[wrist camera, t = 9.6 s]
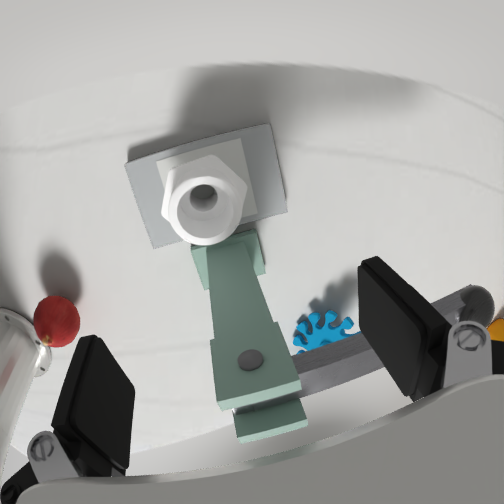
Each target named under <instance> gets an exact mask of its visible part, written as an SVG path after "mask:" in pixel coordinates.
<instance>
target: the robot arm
mask: <svg viewBox="0 0 504 504" xmlns="http://www.w3.org/2000/svg"><path fill="white" fill-rule="evenodd" d="M358 298H359V327H360V330H361V332H362V334H363V335H364V337H365V338H366V340H367V341H368V343H369V344H370V345H371V347H372V348H373V350H374V351H375V353H376V354H377V356H378V357H379V359H380V360H381V362H382V363H383V365H384V366H385V368H386V369H387V370H388V372H389V374H390V375H391V377H392V378H393V380H394V381H395V382H396V384H397V386H398V387H399V389H400V390H401V392H402V393H403V395H404V396H406V397H407V396H410V398H411V399H412V401H413V402H414V403H412V404H409V405H407V406H405V407H403V408H401V409H399V410H397V411H394V412H392V413H390V414H388V415H385V416H383V417H381V418H378V419H376V420H373V421H371V422H369V423H366V424H364V425H362V426H359V427H356V428H354V429H351V430H349V431H346V432H343V433H341V434H338V435H335V436H332V437H330V438H327V439H324V440H321V441H318V442H315V443H311V444H308V445H305V446H302V447H298V448H295V449H292V450H288V451H285V452H281V453H277V454H273V455H270V456H266V457H261V458H257V459H253V460H248V461H244V462H239V463H234V464H230V465H224V466H218V467H213V468H206V469H200V470H193V471H185V472H177V473H168V474H157V475H143V476H125V472H126V469H127V468H128V467H129V458H130V443H131V431H132V419H133V409H134V400H135V389H134V386H133V384H132V383H131V382H130V380H129V379H128V377H127V376H126V374H125V373H124V372H123V370H122V369H121V367H120V366H119V364H118V363H117V361H116V360H115V358H114V357H113V355H112V354H111V352H110V351H109V349H108V348H107V346H106V345H105V343H104V341H103V340H102V339H101V338H98V337H97V336H96V335H89V336H85V337H81V338H80V339H79V341H78V344H77V346H76V349H75V352H74V354H73V357H72V360H71V363H70V366H69V369H68V371H67V374H66V377H65V380H64V383H63V386H62V390H61V393H60V396H59V399H58V402H57V406H56V409H55V413H54V416H53V420H52V423H51V426H52V427H53V428H54V431H53V433H52V432H50V431H43V432H40V433H38V434H36V435H35V436H34V437H33V438H32V440H31V441H30V443H29V445H28V449H27V455H28V459H29V462H28V463H27V464H26V465H25V466H24V467H22V468H21V469H20V470H19V471H18V472H17V473H15V474H14V475H13V476H12V477H11V478H10V479H9V480H8V481H6V482H5V483H4V485H3V486H2V489H1V482H2V475H3V469H4V465H5V460H6V457H7V453H8V449H9V446H10V443H11V440H12V436H13V433H14V430H15V427H16V424H17V421H18V418H19V415H20V413H21V410H22V407H23V404H24V402H25V399H26V396H27V394H28V391H29V389H30V386H31V384H32V381H33V379H34V377H39V376H42V375H44V374H45V373H46V372H47V371H48V369H49V367H50V364H51V353H50V349H49V347H48V346H45V345H44V344H43V342H42V341H41V340H40V339H39V338H38V336H37V334H36V331H35V329H34V326H33V325H32V324H31V323H30V322H29V321H28V320H26V319H25V318H24V317H22V316H21V315H19V314H17V313H15V312H13V311H11V310H7V309H3V308H0V504H504V341H498V340H491V338H490V334H489V332H488V330H487V329H486V328H485V327H484V326H483V325H481V324H479V323H477V322H473V321H462V322H458V323H457V324H455V325H453V326H452V325H451V324H450V323H449V322H448V321H447V320H446V319H445V318H444V317H443V316H442V315H441V314H440V313H439V312H438V311H437V310H436V309H435V308H434V307H433V306H432V305H431V304H430V303H429V302H428V301H427V300H426V299H425V298H424V297H423V296H422V295H421V294H419V293H418V292H417V291H416V290H415V289H414V288H413V287H412V286H411V285H409V284H408V283H407V282H406V281H405V280H404V279H403V278H401V277H400V276H399V275H398V274H397V273H396V272H395V271H394V270H393V269H392V268H391V267H389V266H388V265H387V264H386V263H385V262H384V261H383V260H382V259H381V258H379V257H378V256H375V257H372V258H369V259H366V260H363V261H362V262H361V265H360V266H358ZM423 397H424V398H423ZM421 398H422V399H421ZM419 399H420V400H419ZM417 400H418V401H417ZM415 401H416V402H415ZM111 476H112V477H111Z"/></svg>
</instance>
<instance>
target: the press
mask: <svg viewBox="0 0 504 504" xmlns="http://www.w3.org/2000/svg"><path fill="white" fill-rule="evenodd" d="M208 155H215V156H217V157H218V158H219V159H220V160H221V161H222V162H223V163H224V164H225V165H227V166H228V167H229V168H230V169H231V170H232V171H233V172H234V173H235V174H236V175H238V176H239V177H240V178H241V179H242V180H243V181H244V182H245V183H246V185H247V192H246V196H245V200H244V204H243V208H242V216H241V220H240V222H239V225H241V224H245V223H248V222H252V221H256V220H259V219H263V218H267V217H271V216H275V215H278V214H282V213H286V212H288V210H287V205H286V199H285V194H284V189H283V184H282V179H281V174H280V169H279V164H278V159H277V154H276V149H275V144H274V139H273V135H272V130H271V125H270V124H268V123H266V124H261V125H257V126H252V127H248V128H243V129H239V130H235V131H231V132H227V133H223V134H219V135H215V136H211V137H207V138H203V139H200V140H196V141H193V142H189V143H185V144H182V145H179V146H175V147H172V148H169V149H165V150H162V151H159V152H156V153H153V154H150V155H147V156H144V157H141V158H138V159H135V160H132V161H129V162H127V163H126V164H124V166H125V169H126V172H127V175H128V178H129V181H130V184H131V187H132V190H133V193H134V196H135V199H136V202H137V205H138V208H139V211H140V214H141V217H142V219H143V222H144V225H145V228H146V230H147V233H148V236H149V238H150V241H151V244H152V246H153V249H156V248H159V247H163V246H166V245H170V244H173V243H176V242H180V241H183V240H184V239H182V238H181V237H180V236H179V235H178V234H177V233H176V232H175V231H174V229H173V228H172V226H171V223H170V222H169V221H167V220H166V219H165V218H164V217H163V216H162V214H161V210H162V204H163V198H164V193H165V187H166V182H167V177H168V173H169V171H170V169H171V168H173V167H176V166H178V165H181V164H184V163H187V162H190V161H193V160H196V159H199V158H202V157H205V156H208ZM214 190H215V189H214V188H213V187H212V186H210V185H206V184H202V185H198V186H196V187H195V188H193V190H192V191H191V193H192V195H193V196H194V197H196V198H198V199H206V198H209V197H210V196H211V195H212V194H213V192H214ZM191 253H192V256H193V259H194V262H195V265H196V268H197V271H198V274H199V276H200V279H201V282H202V285H203V288H204V290H207V289H209V290H210V300H211V310H212V319H213V328H214V337H215V339H212V340H210V345H211V355H212V365H213V374H214V383H215V391H216V399H217V403H218V405H219V407H220V409H221V410H222V411H223V410H228V409H232V408H237V407H241V406H245V405H249V404H253V403H257V402H260V401H264V400H268V399H272V398H275V397H279V396H282V395H285V394H289V393H292V392H295V391H299V390H302V388H301V382H300V378H299V376H298V373H297V371H296V368H295V365H294V363H293V360H292V358H291V355H290V353H289V350H288V347H287V345H286V342H285V340H284V337H283V335H282V332H281V329H280V327H279V324H278V322H275V323H274V322H273V320H272V317H271V314H270V312H269V309H268V306H267V303H266V301H265V298H264V295H263V293H262V290H261V287H260V284H259V282H258V279H257V276H258V275H262V274H265V273H266V272H265V267H264V263H263V259H262V254H261V250H260V246H259V241H258V237H257V233H256V231H255V229H253V230H249V231H246V232H242V233H238V234H235V235H231V236H229V237H227V238H226V239H225V240H223V241H221V242H219V243H216V244H212V245H195V246H192V247H191ZM232 411H233V410H232ZM233 417H234V423H235V428H236V434H237V438H238V440H239V442H240V443H241V444H242V443H246V442H250V441H255V440H259V439H263V438H267V437H271V436H274V435H278V434H282V433H285V432H289V431H292V430H296V429H299V428H302V427H306V426H308V422H307V418H306V415H305V412H304V410H303V407H302V404H301V401H300V399H299V398H298V399H295V400H292V401H289V402H285V403H282V404H278V405H275V406H271V407H267V408H264V409H260V410H256V411H252V412H248V413H244V414H240V415H235V414H234V412H233Z"/></svg>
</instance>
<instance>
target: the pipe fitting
mask: <svg viewBox="0 0 504 504" xmlns="http://www.w3.org/2000/svg"><path fill="white" fill-rule="evenodd" d="M202 184H206V185H210V186H212V187H213V188H214V189H215V190H214V192H213V194H212V195H211V196H210V197H209V198H206V199H198V198H196V197H194V196H193V195H192V193H191V191H192V190H193V188H195V187H196V186H198V185H202ZM246 192H247V185H246V183H245V182H244V181H243V180H242V179H241V178H240V177H239V176H238V175H236V174H235V173H234V172H233V171H232V170H231V169H230V168H229V167H228V166H227V165H225V164H224V163H223V162H222V161H221V160H220V159H219V158H218V157H217V156H215V155H208V156H205V157H202V158H199V159H196V160H193V161H190V162H187V163H184V164H181V165H178V166H176V167H173V168H171V169H170V171H169V173H168V177H167V182H166V187H165V193H164V198H163V204H162V210H161V214H162V216H163V217H164V218H165V219H166V220H167V221H169V222H170V223H171V226H172V228H173V229H174V231H175V232H176V233H177V234H178V235H179V236H180V237H181V238H182V239H184V240H185V241H187V242H190V243H192V244H196V245H212V244H216V243H219V242H221V241H223V240H225V239H226V238H227V237H229V236H230V235H231V234H232V233H233V232H234V231H235V229H236V228H237V226H238V225H239V222H240V220H241V216H242V208H243V204H244V200H245V196H246Z"/></svg>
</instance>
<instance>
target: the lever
mask: <svg viewBox="0 0 504 504" xmlns="http://www.w3.org/2000/svg"><path fill="white" fill-rule="evenodd" d="M431 305H432V306H433V307H434V308H435V309H436V310H437V311H438V312H439V313H440V314H441V315H442V316H443V317H444V318H445V319H446V320H447V321H448V322H449V323H450V324H451V325H452V326H453V325H455V324H457V323H458V322H462V321H473V322H477V323H479V324H481V325H483V326H484V327H485V328H486V327H487V326H488V325H489V324H490V322H491V321H492V318H493V315H494V309H495V307H494V301H493V298H492V296H491V294H490V293H489V292H488V291H487V290H486V289H485V288H483V287H481V286H477V285H473V286H472V285H471V284H470V285H468V286H466V287H464V288H462V289H460V290H458V291H456V292H454V293H452V294H450V295H448V296H446V297H444V298H442V299H440V300H437V301H435V302H433V303H431ZM291 358H292V360H293V363H294V365H295V368H296V371H297V373H298V376H299V378H300V382H301V388H302V390H299V391H295V392H292V393H289V394H285V395H282V396H279V397H275V398H272V399H268V400H264V401H260V402H257V403H253V404H249V405H245V406H241V407H237V408H232V410H233V412H234V414H235V415H240V414H244V413H248V412H252V411H256V410H260V409H264V408H267V407H271V406H275V405H278V404H282V403H285V402H289V401H292V400H295V399H298V398H302V397H305V396H308V395H311V394H314V393H317V392H320V391H323V390H325V389H329V388H331V387H334V386H337V385H340V384H343V383H345V382H348V381H350V380H353V379H356V378H358V377H361V376H363V375H366V374H368V373H371V372H373V371H376V370H378V369H381V368H383V367H385V366H384V365H383V363H382V362H381V360H380V359H379V357H378V356H377V354H376V353H375V351H374V350H373V348H372V347H371V345H370V344H369V343H368V341H367V340H366V338H365V337H364V335H363V334H362V332H361V333H358V334H355V335H353V336H350V337H347V338H344V339H341V340H339V341H336V342H333V343H330V344H327V345H324V346H321V347H318V348H315V349H312V350H309V351H306V352H303V353H300V354H296V355H293V356H291Z"/></svg>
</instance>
